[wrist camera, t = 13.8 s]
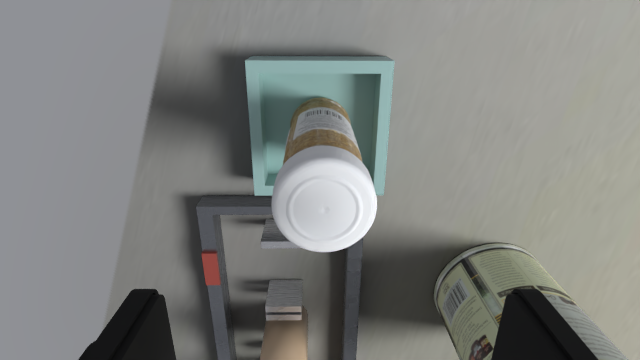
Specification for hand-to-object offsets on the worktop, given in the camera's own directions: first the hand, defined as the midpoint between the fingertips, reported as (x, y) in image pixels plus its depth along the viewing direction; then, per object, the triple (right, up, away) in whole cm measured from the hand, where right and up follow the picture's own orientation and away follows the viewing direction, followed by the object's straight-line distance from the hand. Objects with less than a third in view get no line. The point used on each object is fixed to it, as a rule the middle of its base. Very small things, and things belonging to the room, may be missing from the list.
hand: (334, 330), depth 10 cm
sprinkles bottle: (0, +8, +18) cm, 20 cm away
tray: (0, +9, +18) cm, 20 cm away
